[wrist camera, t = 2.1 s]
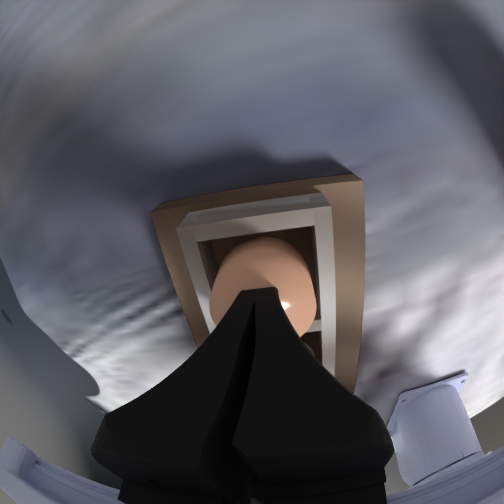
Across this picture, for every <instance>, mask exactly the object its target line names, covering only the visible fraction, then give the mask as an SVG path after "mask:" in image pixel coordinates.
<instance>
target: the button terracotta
mask: <svg viewBox="0 0 504 504" xmlns="http://www.w3.org/2000/svg"><path fill="white" fill-rule="evenodd" d="M266 287H276V288H277V289H278V293H279V298H280V301H281V304H282V306H283V309H284V311H285V313H286V315H287V317H288V318H289V320H290V322H291V324H292V326H293V327H294V329H295V330H296V332H297V334H298V335H299V337H301V336H302V335H303V334H304V333H305V332H306V331H307V330H308V329H309V327H310V326H311V324H312V323H313V321H314V318H315V315H316V298H315V294H314V289H313V284H312V280H311V275H310V271H309V267H308V264H307V261H306V259H305V258H304V256H303V255H302V253H301V252H300V251H299V250H298V249H297V248H296V247H294V246H293V245H292V244H290V243H288V242H286V241H284V240H282V239H278V238H274V237H265V236H261V237H253V238H249V239H246V240H243V241H241V242H239V243H238V244H236V245H235V246H233V247H232V248H231V249H230V250H229V251H228V252H227V253H226V254H225V256H224V258H223V259H222V261H221V264H220V267H219V270H218V273H217V276H216V280H215V283H214V286H213V289H212V292H211V296H210V300H209V311H210V315H211V318H212V320H213V322H214V324H215V325H216V326H217V325H218V323H219V322H220V321H221V319H222V318H223V316H224V315H225V314H226V312H227V311H228V309H229V308H230V306H231V304H232V303H233V301H234V300H235V298H236V297H237V295H238V294H239V292H240V291H241V290H249V289H258V288H266Z"/></svg>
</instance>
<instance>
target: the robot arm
mask: <svg viewBox="0 0 504 504" xmlns="http://www.w3.org/2000/svg"><path fill="white" fill-rule="evenodd" d="M468 376H469V375H468V373H467V372H465V373H462V374H460V375H457V376H454V377H451V378H449V379H446V380H443V381H440V382H437V383H434V384H431V385H427V386H424V387H421V388H417V389H414V390H410V391H407V392H403V393H402V394H400V396H399V398H398V401H397V403H396V406H395V408H394V411H393V413H392V416H391V418H390V421H389V423H388V425H387V428H386V426H385V424H384V422H383V420H382V419H381V417H380V415H379V414H378V412H377V411H376V410H375V409H373V408H372V407H371V406H369V405H368V404H366V403H365V402H363V401H362V400H361V399H359V398H358V397H357V396H356V395H354V394H353V393H352V392H351V391H349V390H348V389H347V388H346V387H345V386H343V385H342V384H341V383H340V382H339V381H338V380H337V379H336V378H335V377H334V376H333V375H332V374H331V373H330V372H329V371H328V370H327V369H326V368H325V367H324V366H323V365H322V364H321V363H320V362H319V361H318V360H317V359H316V357H315V356H314V355H313V354H312V353H311V351H310V350H309V349H308V348H307V346H306V345H305V344H304V342H303V341H302V339H301V338H300V337H299V335H298V334H297V332H296V330H295V329H294V327H293V326H292V324H291V322H290V320H289V318H288V317H287V315H286V313H285V311H284V309H283V306H282V304H281V301H280V298H279V293H278V289H277V288H276V287H266V288H258V289H249V290H241V291H240V292H239V294H238V295H237V297H236V298H235V300H234V301H233V303H232V304H231V306H230V308H229V309H228V311H227V312H226V314H225V315H224V316H223V318H222V319H221V321H220V322H219V323H218V325H217V326H216V327H215V329H214V330H213V331H212V332H211V334H210V335H209V336H208V337H207V339H206V340H205V341H204V342H203V343H202V345H201V346H200V347H199V348H198V349H197V350H196V351H195V352H194V353H193V354H192V355H191V356H190V357H189V358H188V359H187V360H186V361H185V362H184V363H183V364H182V365H181V366H180V367H178V368H177V369H176V370H175V371H174V372H172V373H171V374H170V375H169V376H168V377H166V378H165V379H164V380H163V381H161V382H160V383H159V384H157V385H156V386H154V387H153V388H151V389H150V390H148V391H147V392H145V393H144V394H142V395H141V396H139V397H137V398H136V399H134V400H132V401H131V402H129V403H127V404H125V405H123V406H121V407H119V408H117V409H115V410H113V411H112V412H109V413H107V414H105V416H104V418H103V421H102V423H101V425H100V428H99V430H98V433H97V435H96V437H95V440H94V442H93V445H92V447H91V454H92V456H93V457H94V459H95V460H96V461H97V462H99V463H100V464H101V465H102V466H104V467H105V468H107V469H108V470H109V471H111V472H112V473H114V474H115V475H117V476H118V477H120V478H121V479H123V482H122V485H121V488H120V490H117V489H114V488H111V487H108V486H105V485H102V484H99V483H97V482H94V481H91V480H89V479H86V478H84V477H81V476H79V475H76V474H74V473H71V472H69V471H67V470H65V469H63V468H60V467H58V466H56V465H54V464H52V463H50V462H48V461H46V460H44V459H42V458H40V457H38V456H37V454H35V453H34V452H33V451H32V450H30V449H29V448H28V447H26V446H25V445H24V444H22V443H20V442H19V441H17V440H15V439H14V438H12V437H10V436H8V437H7V439H6V441H5V443H4V446H3V447H2V450H1V451H0V488H1V489H2V490H3V491H4V492H6V493H7V494H8V495H9V496H10V497H11V498H12V499H13V500H14V501H15V502H16V503H17V504H504V446H503V447H501V448H499V449H497V450H496V451H494V452H491V451H490V452H489V453H487V454H486V456H485V455H484V453H483V452H482V450H481V448H480V445H479V442H478V439H477V436H476V434H475V431H474V429H473V426H472V424H471V421H470V419H469V416H468V414H467V411H466V409H465V407H464V405H463V402H462V400H461V398H460V396H459V392H460V391H461V389H462V387H463V385H464V384H465V382H466V380H467V378H468ZM391 436H392V439H393V442H392V439H391ZM393 443H394V446H393ZM394 447H395V452H396V456H397V460H398V465H399V470H400V474H401V477H402V479H403V480H404V481H405V482H406V483H407V484H408V485H410V486H412V487H410V488H408V489H406V490H404V491H401V492H398V493H395V494H391V495H387V496H386V492H385V486H384V483H385V482H386V475H385V470H384V467H385V465H386V464H387V463H388V461H389V460H390V458H391V457H392V455H393V453H394Z"/></svg>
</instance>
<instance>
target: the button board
mask: <svg viewBox="0 0 504 504" xmlns="http://www.w3.org/2000/svg"><path fill="white" fill-rule="evenodd" d="M150 214H151V217H152V221H153V224H154V227H155V230H156V234H157V237H158V240H159V243H160V246H161V249H162V252H163V255H164V258H165V261H166V264H167V267H168V270H169V273H170V276H171V279H172V281H173V284H174V287H175V290H176V292H177V295H178V298H179V301H180V303H181V306H182V309H183V311H184V314H185V316H186V319H187V321H188V324H189V326H190V329H191V331H192V334H193V336H194V339H195V341H196V344H197V346H198V348H199V347H200V346H201V345H202V343H203V342H204V341H205V340H206V339H207V337H208V336H209V335H210V334H211V332H212V331H213V330H214V329H215V327H216V325H215V324H214V322H213V320H212V318H211V315H210V311H209V300H210V296H211V292H212V289H213V286H214V283H215V280H216V276H217V273H218V270H219V267H220V264H221V261H222V259H223V258H224V256H225V254H226V253H227V252H228V251H229V250H230V249H231V248H232V247H233V246H235V245H236V244H238V243H239V242H241V241H243V240H246V239H249V238H253V237H261V236H265V237H274V238H278V239H282V240H284V241H286V242H288V243H290V244H292V245H293V246H294V247H296V248H297V249H298V250H299V251H300V252H301V253H302V255H303V256H304V258H305V259H306V261H307V264H308V267H309V271H310V275H311V280H312V284H313V289H314V294H315V298H316V315H315V318H314V321H313V323H312V324H311V326H310V327H309V329H308V330H307V331H306V332H305V333H304V334H303V335H302V336H301V337H300V338H301V339H302V341H303V342H304V343H306V344H307V345H308V346H309V347H310V348H311V349H312V350H313V352H314V354H315V357H316V359H317V360H318V361H319V362H320V363H321V364H322V365H323V366H324V367H325V368H326V369H327V370H328V371H329V372H330V373H331V374H332V375H333V376H334V377H335V378H336V379H337V380H338V381H339V382H340V383H341V384H342V385H343V386H345V387H346V388H347V389H348V390H349V391H351V392H352V393H353V394H354V389H355V383H356V376H357V368H358V360H359V351H360V341H361V331H362V318H363V303H364V282H365V209H364V188H363V180H362V179H361V178H359V177H358V176H356V175H355V174H346V175H336V176H327V177H318V178H310V179H302V180H294V181H287V182H279V183H272V184H266V185H259V186H253V187H246V188H240V189H234V190H228V191H222V192H217V193H211V194H206V195H200V196H195V197H190V198H185V199H180V200H175V201H170V202H165V203H161V204H160V205H158V206H157V207H156V208H155V209H154V210H153V211H152V212H150Z"/></svg>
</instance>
